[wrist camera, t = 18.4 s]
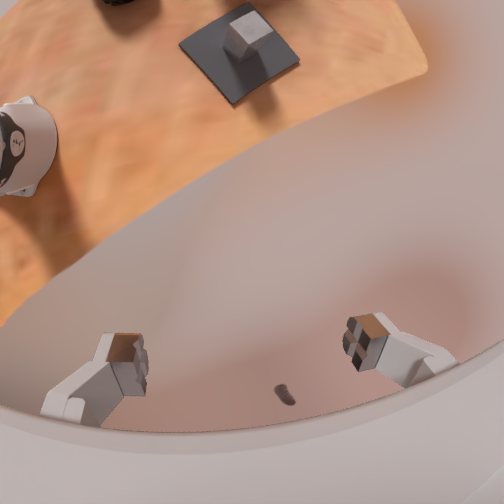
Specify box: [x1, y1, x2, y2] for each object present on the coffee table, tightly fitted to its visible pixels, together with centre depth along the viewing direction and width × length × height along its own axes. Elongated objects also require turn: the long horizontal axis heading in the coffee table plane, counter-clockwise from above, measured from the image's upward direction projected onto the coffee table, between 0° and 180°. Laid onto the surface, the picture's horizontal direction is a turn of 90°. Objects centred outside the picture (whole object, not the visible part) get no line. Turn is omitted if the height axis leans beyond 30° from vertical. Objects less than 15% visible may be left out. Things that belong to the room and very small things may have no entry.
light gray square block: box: [223, 10, 274, 64], centre depth 30 cm, size 4×4×10 cm
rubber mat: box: [179, 3, 300, 104], centre depth 35 cm, size 14×14×1 cm
